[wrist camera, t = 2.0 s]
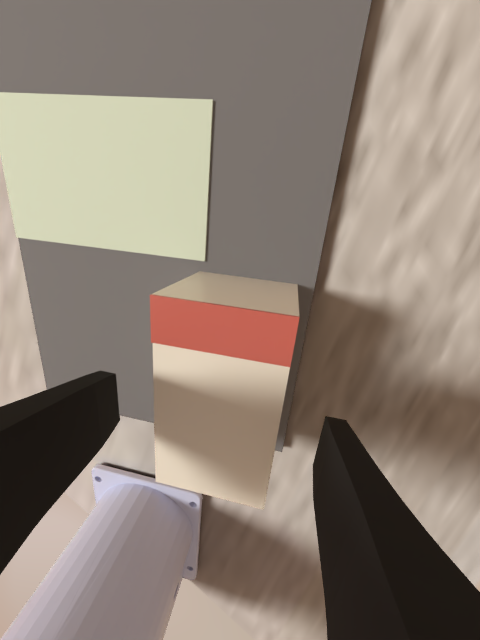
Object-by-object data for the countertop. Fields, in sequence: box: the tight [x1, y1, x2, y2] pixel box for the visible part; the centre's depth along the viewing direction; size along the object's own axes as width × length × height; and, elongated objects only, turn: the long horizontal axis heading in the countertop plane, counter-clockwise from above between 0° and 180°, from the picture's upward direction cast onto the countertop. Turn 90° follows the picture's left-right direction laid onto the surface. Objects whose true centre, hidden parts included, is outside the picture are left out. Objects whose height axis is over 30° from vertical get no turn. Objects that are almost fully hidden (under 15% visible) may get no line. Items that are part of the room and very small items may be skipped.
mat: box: [0, 0, 372, 452], centre depth 13 cm, size 20×15×1 cm
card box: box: [150, 271, 300, 510], centre depth 11 cm, size 8×4×5 cm, turn 174°
